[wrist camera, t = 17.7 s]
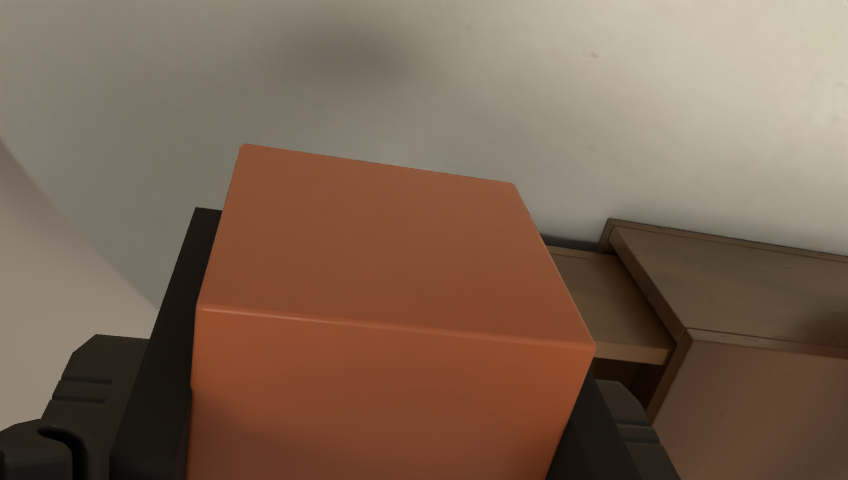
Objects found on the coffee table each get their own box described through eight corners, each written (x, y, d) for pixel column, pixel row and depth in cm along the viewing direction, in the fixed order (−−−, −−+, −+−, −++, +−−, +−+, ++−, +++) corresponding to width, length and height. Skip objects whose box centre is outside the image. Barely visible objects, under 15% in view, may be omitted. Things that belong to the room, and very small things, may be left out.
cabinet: (531, 416, 41) (582, 567, 33) (608, 217, 35) (694, 340, 27) (762, 439, 44) (862, 582, 36) (867, 259, 38) (1017, 381, 30)
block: (219, 367, 17) (175, 586, 12) (241, 141, 14) (195, 304, 9) (455, 388, 18) (501, 597, 13) (515, 181, 15) (600, 346, 10)
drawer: (258, 391, 37) (241, 519, 30) (289, 188, 32) (278, 287, 25) (612, 426, 41) (668, 546, 34) (692, 250, 36) (777, 351, 29)
